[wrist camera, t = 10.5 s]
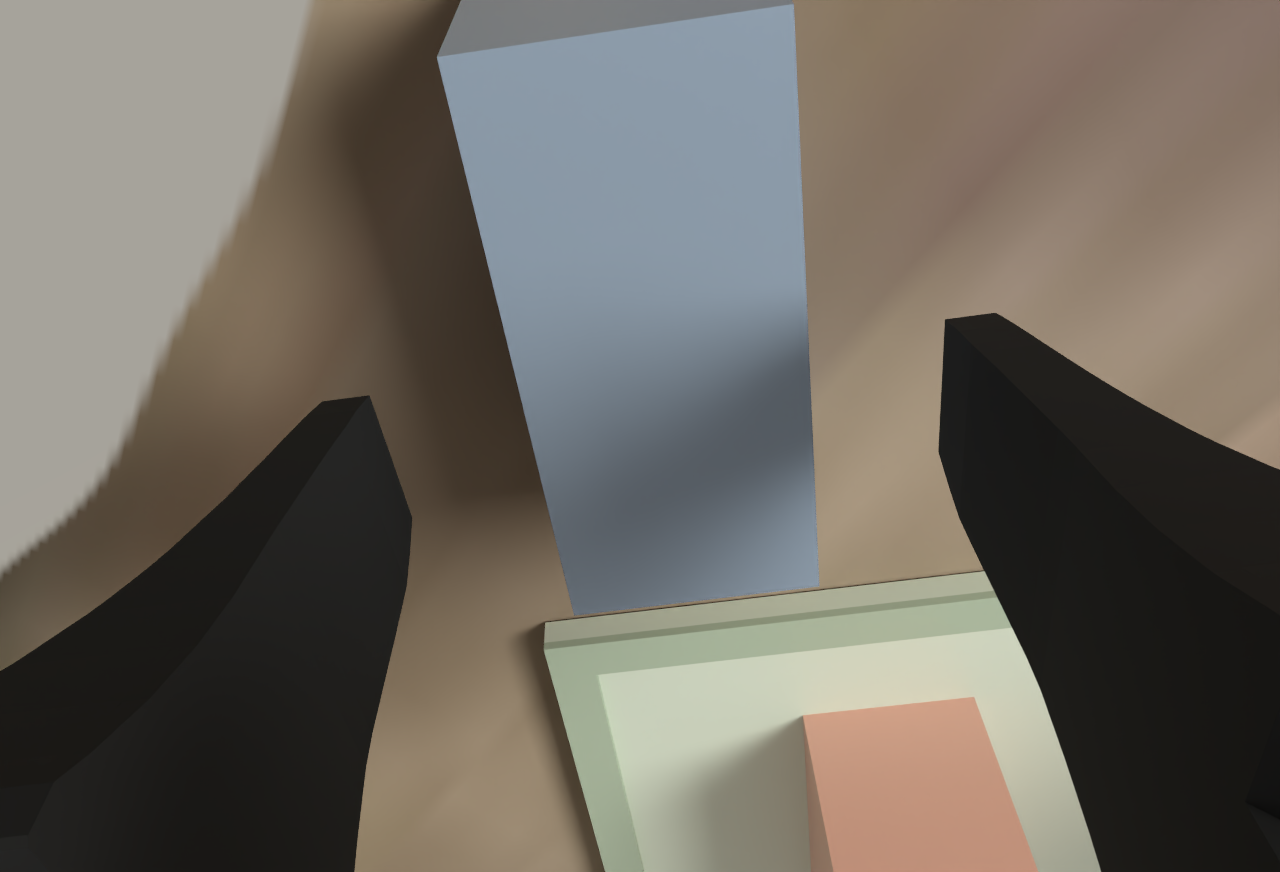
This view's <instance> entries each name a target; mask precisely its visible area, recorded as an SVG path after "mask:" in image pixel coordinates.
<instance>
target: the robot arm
mask: <svg viewBox="0 0 1280 872" xmlns="http://www.w3.org/2000/svg"><path fill="white" fill-rule="evenodd" d="M939 455H940V458H941V462H942V465H943V468H944V472H945V475H946V478H947V482H948V485H949V488H950V491H951V494H952V497H953V500H954V503H955V506H956V509H957V512H958V515H959V518H960V520H961V523H962V525H963V527H964V529H965V531H966V533H967V536H968V538H969V540H970V542H971V544H972V546H973V548H974V550H975V552H976V554H977V557H978V559H979V561H980V563H981V565H982V567H983V569H984V571H985V573H986V575H987V577H988V579H989V581H990V584H991V586H992V588H993V590H994V592H995V594H996V596H997V598H998V600H999V602H1000V604H1001V606H1002V608H1003V610H1004V612H1005V614H1006V616H1007V618H1008V620H1009V623H1010V625H1011V627H1012V629H1013V631H1014V633H1015V635H1016V637H1017V639H1018V641H1019V643H1020V645H1021V647H1022V649H1023V651H1024V653H1025V655H1026V658H1027V660H1028V662H1029V664H1030V667H1031V669H1032V671H1033V674H1034V676H1035V678H1036V681H1037V683H1038V685H1039V688H1040V690H1041V693H1042V696H1043V698H1044V701H1045V704H1046V707H1047V710H1048V713H1049V716H1050V718H1051V721H1052V724H1053V727H1054V730H1055V733H1056V735H1057V738H1058V741H1059V744H1060V747H1061V750H1062V752H1063V755H1064V758H1065V761H1066V764H1067V767H1068V770H1069V773H1070V776H1071V779H1072V782H1073V785H1074V788H1075V791H1076V794H1077V797H1078V800H1079V803H1080V807H1081V810H1082V813H1083V816H1084V819H1085V822H1086V825H1087V828H1088V831H1089V834H1090V837H1091V840H1092V844H1093V847H1094V850H1095V853H1096V857H1097V860H1098V863H1099V866H1100V870H1101V872H1280V470H1279V469H1276V468H1274V467H1271V466H1269V465H1267V464H1264V463H1262V462H1260V461H1258V460H1255V459H1253V458H1251V457H1248V456H1246V455H1244V454H1242V453H1239V452H1237V451H1235V450H1232V449H1230V448H1228V447H1226V446H1223V445H1221V444H1219V443H1217V442H1214V441H1212V440H1210V439H1208V438H1206V437H1204V436H1202V435H1200V434H1198V433H1196V432H1194V431H1192V430H1190V429H1188V428H1186V427H1184V426H1182V425H1180V424H1178V423H1177V422H1175V421H1173V420H1171V419H1169V418H1167V417H1165V416H1164V415H1162V414H1160V413H1158V412H1156V411H1154V410H1152V409H1150V408H1149V407H1147V406H1145V405H1143V404H1141V403H1140V402H1138V401H1136V400H1134V399H1133V398H1131V397H1129V396H1127V395H1126V394H1124V393H1122V392H1121V391H1119V390H1117V389H1116V388H1114V387H1112V386H1111V385H1109V384H1107V383H1106V382H1104V381H1102V380H1101V379H1099V378H1098V377H1096V376H1094V375H1093V374H1091V373H1089V372H1088V371H1086V370H1085V369H1083V368H1082V367H1080V366H1078V365H1077V364H1075V363H1074V362H1072V361H1071V360H1069V359H1067V358H1066V357H1064V356H1063V355H1061V354H1060V353H1058V352H1057V351H1055V350H1054V349H1052V348H1051V347H1049V346H1047V345H1046V344H1044V343H1043V342H1041V341H1040V340H1038V339H1037V338H1035V337H1034V336H1032V335H1031V334H1029V333H1028V332H1026V331H1025V330H1023V329H1021V328H1020V327H1018V326H1017V325H1015V324H1014V323H1012V322H1010V321H1009V320H1007V319H1005V318H1004V317H1002V316H1000V315H998V314H997V313H991V314H983V315H976V316H968V317H960V318H953V319H945V332H944V352H943V372H942V392H941V412H940V432H939ZM411 528H412V516H411V513H410V510H409V507H408V505H407V502H406V499H405V496H404V493H403V490H402V487H401V485H400V482H399V479H398V476H397V473H396V470H395V467H394V465H393V462H392V459H391V456H390V453H389V450H388V447H387V445H386V442H385V439H384V436H383V433H382V430H381V427H380V425H379V422H378V419H377V416H376V413H375V410H374V407H373V405H372V402H371V399H370V396H361V397H354V398H346V399H338V400H331V401H323V402H321V403H320V404H319V405H318V406H317V407H316V408H315V409H313V410H312V411H311V412H310V413H309V414H308V415H307V416H306V417H305V418H304V419H303V420H302V421H301V422H300V423H299V424H298V425H297V426H296V427H295V428H294V429H293V430H292V431H291V432H290V433H289V434H288V435H287V436H286V437H285V438H284V439H283V440H282V441H281V442H280V443H279V444H278V445H277V447H276V448H275V449H274V450H273V451H272V452H271V453H270V454H269V455H268V456H267V457H266V458H265V459H264V460H263V461H262V462H261V463H260V464H259V465H258V466H257V467H256V468H255V469H254V470H253V471H252V472H251V473H250V474H249V475H248V476H247V477H246V478H245V479H244V480H243V481H242V482H241V483H240V484H239V485H238V486H237V487H236V488H235V489H234V490H233V491H232V492H231V493H230V494H229V495H228V496H227V497H226V498H225V499H224V500H223V501H222V502H221V503H220V504H219V505H218V506H217V507H216V508H214V509H213V510H212V511H211V512H210V513H209V514H208V515H207V516H206V517H205V518H204V519H203V520H201V521H200V522H199V523H198V524H197V525H196V526H195V527H194V528H193V529H192V530H191V531H190V532H188V533H187V534H186V535H185V536H184V537H183V538H182V539H181V540H180V541H179V542H178V543H177V544H175V545H174V546H173V547H172V548H171V549H170V550H169V551H168V552H166V553H165V554H164V555H163V556H162V557H161V558H159V559H158V560H157V561H156V562H155V563H153V564H152V565H151V566H150V567H149V568H147V569H146V570H145V571H144V572H142V573H141V574H140V575H139V576H138V577H136V578H135V579H134V580H132V581H131V582H130V583H128V584H127V585H126V586H125V587H123V588H122V589H121V590H119V591H118V592H117V593H115V594H114V595H113V596H112V597H110V598H109V599H108V600H106V601H105V602H104V603H102V604H101V605H100V606H98V607H97V608H95V609H94V610H93V611H91V612H90V613H89V614H87V615H86V616H84V617H83V618H81V619H80V620H78V621H77V622H75V623H74V624H72V625H71V626H69V627H68V628H66V629H65V630H63V631H62V632H60V633H59V634H57V635H56V636H54V637H53V638H51V639H50V640H48V641H47V642H45V643H44V644H42V645H41V646H39V647H38V648H36V649H35V650H33V651H32V652H30V653H29V654H27V655H26V656H24V657H23V658H21V659H20V660H18V661H16V662H15V663H13V664H12V665H10V666H8V667H7V668H5V669H3V670H2V671H0V872H354V869H355V858H356V848H357V837H358V829H359V821H360V812H361V804H362V795H363V787H364V779H365V770H366V764H367V759H368V753H369V748H370V743H371V737H372V732H373V728H374V724H375V720H376V715H377V711H378V707H379V703H380V699H381V694H382V690H383V686H384V682H385V677H386V673H387V669H388V665H389V661H390V656H391V652H392V648H393V644H394V640H395V635H396V631H397V626H398V622H399V618H400V613H401V609H402V605H403V600H404V595H405V591H406V586H407V576H408V566H409V556H410V542H411Z"/></svg>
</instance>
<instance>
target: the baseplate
mask: <svg viewBox="0 0 1280 872" xmlns="http://www.w3.org/2000/svg"><path fill="white" fill-rule="evenodd" d="M544 653H545V656H546V660H547V663H548V667H549V671H550V674H551V678H552V682H553V685H554V689H555V692H556V696H557V700H558V703H559V707H560V710H561V714H562V718H563V721H564V725H565V728H566V732H567V736H568V739H569V743H570V747H571V750H572V754H573V757H574V761H575V765H576V768H577V772H578V775H579V779H580V783H581V786H582V790H583V794H584V797H585V801H586V804H587V808H588V812H589V815H590V819H591V822H592V826H593V830H594V833H595V837H596V840H597V844H598V848H599V851H600V855H601V859H602V862H603V866H604V869H605V872H811V859H810V840H809V822H808V803H807V784H806V765H805V746H804V728H803V715H810V714H819V713H829V712H838V711H847V710H857V709H866V708H875V707H884V706H894V705H903V704H912V703H922V702H931V701H940V700H949V699H959V698H968V697H974V698H975V701H976V703H977V706H978V709H979V712H980V714H981V717H982V720H983V723H984V725H985V728H986V731H987V733H988V736H989V739H990V742H991V744H992V747H993V750H994V752H995V755H996V758H997V761H998V763H999V766H1000V769H1001V771H1002V774H1003V777H1004V780H1005V782H1006V785H1007V788H1008V791H1009V793H1010V796H1011V799H1012V801H1013V804H1014V807H1015V810H1016V812H1017V815H1018V818H1019V820H1020V823H1021V826H1022V829H1023V831H1024V834H1025V837H1026V839H1027V842H1028V845H1029V848H1030V850H1031V853H1032V856H1033V859H1034V861H1035V864H1036V867H1037V869H1038V872H1101V870H1100V866H1099V863H1098V860H1097V857H1096V853H1095V850H1094V847H1093V844H1092V840H1091V837H1090V834H1089V831H1088V828H1087V825H1086V822H1085V819H1084V816H1083V813H1082V810H1081V807H1080V803H1079V800H1078V797H1077V794H1076V791H1075V788H1074V785H1073V782H1072V779H1071V776H1070V773H1069V770H1068V767H1067V764H1066V761H1065V758H1064V755H1063V752H1062V750H1061V747H1060V744H1059V741H1058V738H1057V735H1056V733H1055V730H1054V727H1053V724H1052V721H1051V718H1050V716H1049V713H1048V710H1047V707H1046V704H1045V701H1044V698H1043V696H1042V693H1041V690H1040V688H1039V685H1038V683H1037V681H1036V678H1035V676H1034V674H1033V671H1032V669H1031V667H1030V664H1029V662H1028V660H1027V658H1026V655H1025V653H1024V651H1023V649H1022V647H1021V645H1020V643H1019V641H1018V639H1017V637H1016V635H1015V633H1014V631H1013V629H1012V627H1011V625H1010V623H1009V620H1008V618H1007V616H1006V614H1005V612H1004V610H1003V608H1002V606H1001V604H1000V602H999V600H998V598H997V596H996V594H995V592H994V590H993V588H992V586H991V584H990V581H989V579H988V577H987V575H986V573H985V571H982V572H974V573H965V574H957V575H948V576H939V577H931V578H922V579H914V580H905V581H897V582H888V583H880V584H871V585H863V586H854V587H845V588H837V589H828V590H820V591H811V592H803V593H794V594H786V595H777V596H768V597H760V598H751V599H743V600H734V601H726V602H717V603H709V604H700V605H691V606H683V607H674V608H666V609H657V610H649V611H640V612H632V613H623V614H614V615H606V616H597V617H589V618H580V619H572V620H563V621H555V622H546V623H545V636H544Z"/></svg>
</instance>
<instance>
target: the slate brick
mask: <svg viewBox="0 0 1280 872" xmlns="http://www.w3.org/2000/svg"><path fill="white" fill-rule="evenodd" d="M437 60H438V64H439V68H440V72H441V76H442V81H443V85H444V89H445V93H446V97H447V101H448V105H449V109H450V113H451V117H452V121H453V125H454V129H455V133H456V137H457V141H458V145H459V150H460V154H461V158H462V162H463V166H464V170H465V174H466V178H467V182H468V186H469V190H470V194H471V198H472V202H473V206H474V210H475V214H476V219H477V223H478V227H479V231H480V235H481V239H482V243H483V247H484V251H485V255H486V259H487V263H488V267H489V271H490V275H491V279H492V284H493V288H494V292H495V296H496V300H497V304H498V308H499V312H500V316H501V320H502V324H503V328H504V332H505V336H506V340H507V344H508V348H509V353H510V357H511V361H512V365H513V369H514V373H515V377H516V381H517V385H518V389H519V393H520V397H521V401H522V405H523V409H524V413H525V417H526V422H527V426H528V430H529V434H530V438H531V442H532V446H533V450H534V454H535V458H536V462H537V466H538V470H539V474H540V478H541V482H542V486H543V491H544V495H545V499H546V503H547V507H548V511H549V515H550V519H551V523H552V527H553V531H554V535H555V539H556V543H557V547H558V551H559V555H560V560H561V564H562V568H563V572H564V576H565V580H566V584H567V588H568V592H569V596H570V600H571V604H572V608H573V612H574V615H582V614H591V613H599V612H608V611H616V610H625V609H633V608H641V607H650V606H658V605H667V604H675V603H683V602H692V601H700V600H709V599H717V598H726V597H734V596H742V595H751V594H759V593H768V592H776V591H784V590H793V589H801V588H810V587H818V586H819V569H818V547H817V524H816V501H815V478H814V455H813V433H812V410H811V387H810V364H809V341H808V318H807V296H806V273H805V250H804V227H803V204H802V182H801V159H800V136H799V113H798V90H797V67H796V45H795V22H794V4H793V2H792V0H461V2H460V4H459V6H458V9H457V11H456V13H455V16H454V18H453V20H452V23H451V25H450V27H449V30H448V32H447V34H446V37H445V39H444V41H443V44H442V46H441V48H440V51H439V53H438V55H437Z"/></svg>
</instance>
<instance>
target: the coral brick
mask: <svg viewBox="0 0 1280 872" xmlns="http://www.w3.org/2000/svg"><path fill="white" fill-rule="evenodd" d="M803 728H804V746H805V765H806V784H807V803H808V822H809V840H810V859H811V872H1038V869H1037V867H1036V864H1035V861H1034V859H1033V856H1032V853H1031V850H1030V848H1029V845H1028V842H1027V839H1026V837H1025V834H1024V831H1023V829H1022V826H1021V823H1020V820H1019V818H1018V815H1017V812H1016V810H1015V807H1014V804H1013V801H1012V799H1011V796H1010V793H1009V791H1008V788H1007V785H1006V782H1005V780H1004V777H1003V774H1002V771H1001V769H1000V766H999V763H998V761H997V758H996V755H995V752H994V750H993V747H992V744H991V742H990V739H989V736H988V733H987V731H986V728H985V725H984V723H983V720H982V717H981V714H980V712H979V709H978V706H977V703H976V701H975V698H974V697H968V698H959V699H949V700H940V701H931V702H922V703H912V704H903V705H894V706H884V707H875V708H866V709H857V710H847V711H838V712H829V713H819V714H810V715H803Z"/></svg>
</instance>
